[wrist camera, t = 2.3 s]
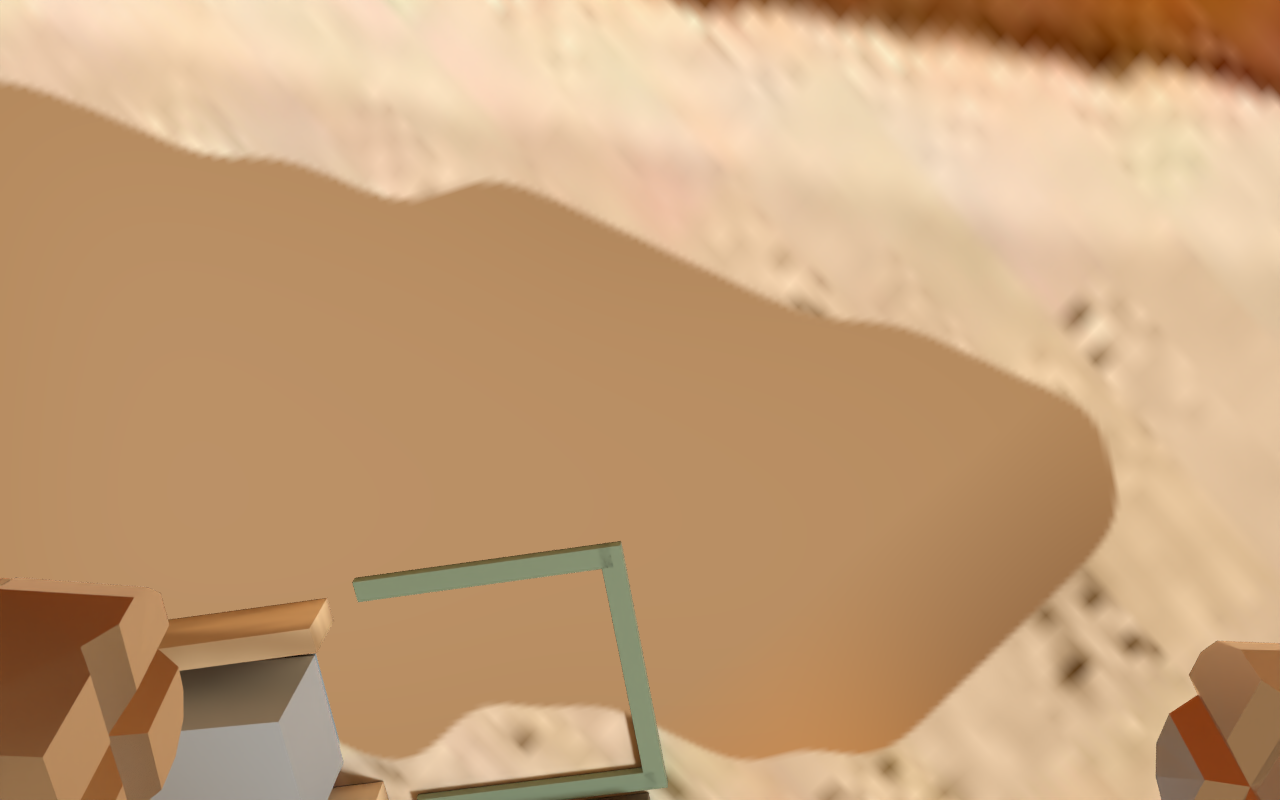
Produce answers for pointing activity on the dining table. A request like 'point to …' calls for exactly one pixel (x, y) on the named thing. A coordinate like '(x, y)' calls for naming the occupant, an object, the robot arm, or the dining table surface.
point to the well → (628, 797)
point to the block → (255, 733)
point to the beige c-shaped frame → (257, 649)
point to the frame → (552, 794)
